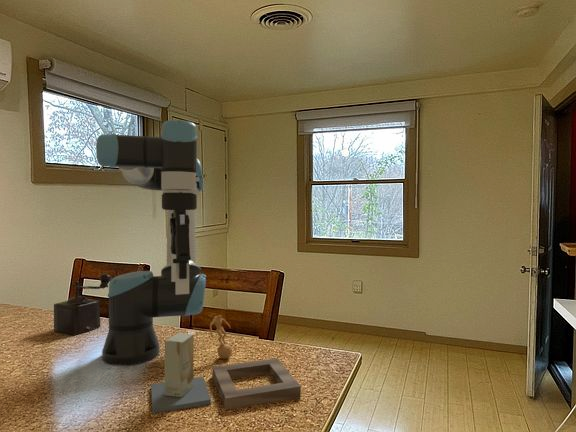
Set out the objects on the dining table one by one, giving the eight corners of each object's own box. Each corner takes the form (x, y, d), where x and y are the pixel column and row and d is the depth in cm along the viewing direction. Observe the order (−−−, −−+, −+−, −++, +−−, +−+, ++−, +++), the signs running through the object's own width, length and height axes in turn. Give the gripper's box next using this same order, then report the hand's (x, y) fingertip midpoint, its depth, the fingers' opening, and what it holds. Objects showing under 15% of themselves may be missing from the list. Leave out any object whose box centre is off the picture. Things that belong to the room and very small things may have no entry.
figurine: (220, 364, 107) (220, 320, 106) (203, 360, 110) (203, 317, 109) (239, 354, 114) (239, 313, 114) (223, 350, 117) (223, 310, 117)
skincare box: (181, 398, 86) (181, 342, 86) (163, 396, 87) (163, 341, 87) (194, 385, 93) (194, 333, 92) (177, 383, 94) (177, 331, 93)
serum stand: (212, 376, 100) (212, 366, 99) (276, 367, 105) (277, 358, 105) (225, 410, 84) (225, 398, 83) (300, 397, 89) (300, 386, 89)
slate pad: (151, 388, 93) (151, 383, 93) (203, 380, 97) (203, 376, 97) (152, 413, 82) (152, 409, 82) (210, 404, 86) (210, 399, 86)
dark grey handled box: (75, 336, 128) (74, 281, 128) (52, 331, 133) (52, 278, 133) (114, 323, 142) (114, 273, 142) (93, 319, 147) (92, 271, 147)
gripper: (204, 191, 78) (204, 298, 78) (190, 193, 101) (190, 276, 102) (164, 190, 75) (164, 301, 76) (159, 192, 99) (160, 277, 99)
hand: (179, 287), depth 89 cm, fingers open, 13 cm apart
